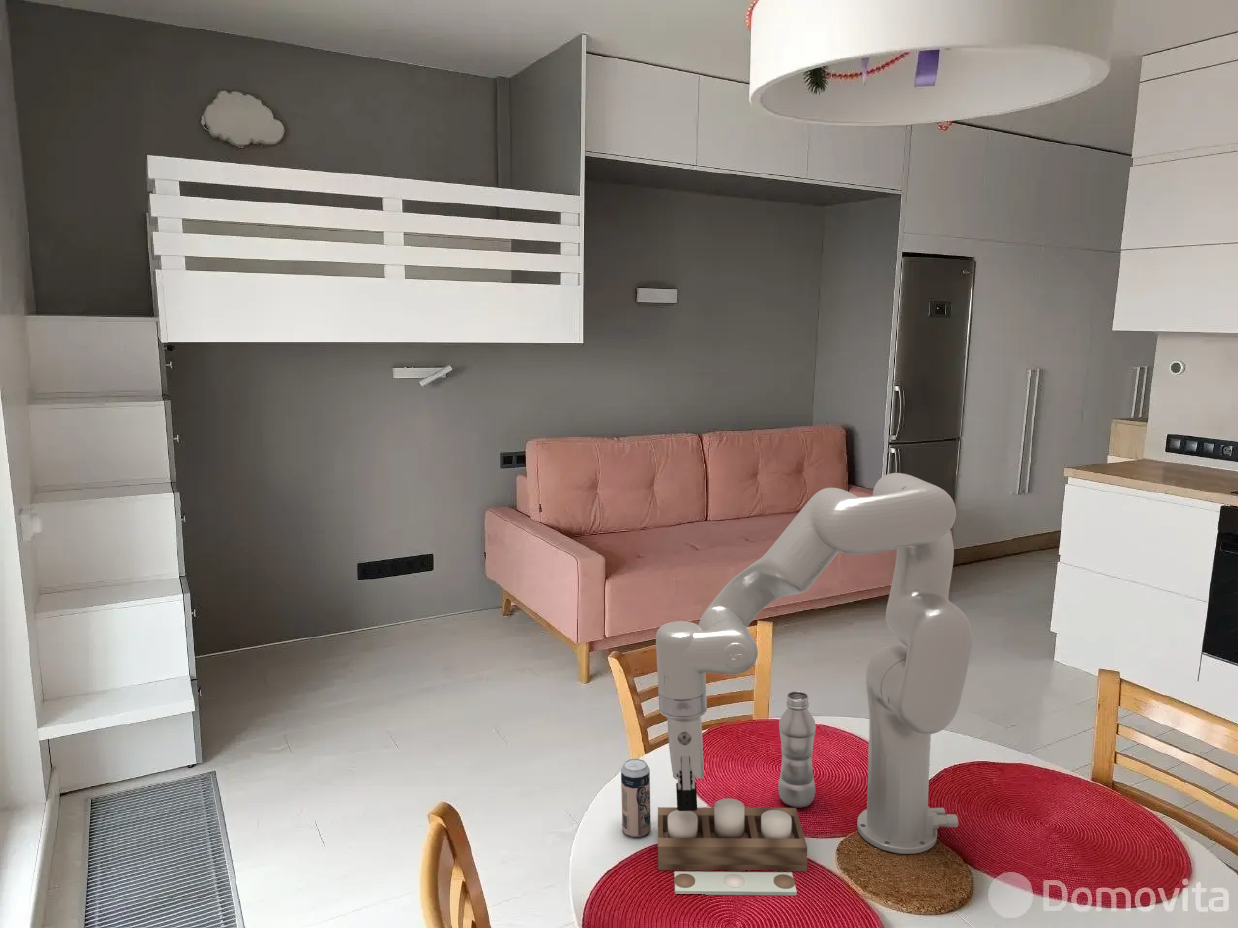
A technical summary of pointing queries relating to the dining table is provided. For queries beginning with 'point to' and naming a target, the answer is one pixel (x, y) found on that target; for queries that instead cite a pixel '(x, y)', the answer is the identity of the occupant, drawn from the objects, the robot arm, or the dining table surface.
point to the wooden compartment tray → (731, 845)
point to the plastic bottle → (797, 752)
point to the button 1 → (682, 824)
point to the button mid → (729, 818)
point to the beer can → (635, 797)
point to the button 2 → (776, 825)
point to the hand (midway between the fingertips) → (687, 807)
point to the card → (735, 883)
